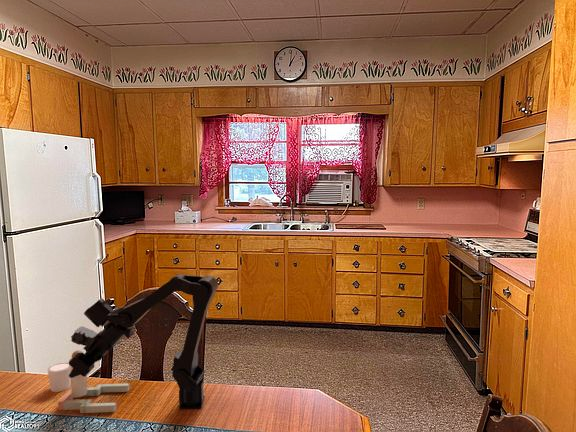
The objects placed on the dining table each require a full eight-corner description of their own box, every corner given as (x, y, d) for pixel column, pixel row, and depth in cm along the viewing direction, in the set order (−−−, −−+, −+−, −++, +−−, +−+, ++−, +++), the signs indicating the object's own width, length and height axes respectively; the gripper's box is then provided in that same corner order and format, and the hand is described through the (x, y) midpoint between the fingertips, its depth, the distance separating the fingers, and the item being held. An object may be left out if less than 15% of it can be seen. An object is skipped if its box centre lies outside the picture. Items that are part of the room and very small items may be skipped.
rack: (129, 389, 131) (129, 381, 131) (114, 411, 119) (114, 403, 118) (75, 390, 131) (75, 383, 130) (54, 413, 118) (54, 405, 117)
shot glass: (43, 389, 131) (42, 368, 131) (64, 380, 137) (63, 360, 137) (57, 394, 128) (55, 373, 128) (77, 385, 134) (76, 364, 134)
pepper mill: (90, 389, 127) (88, 347, 125) (83, 397, 122) (81, 353, 121) (75, 390, 126) (73, 347, 125) (68, 397, 122) (65, 354, 121)
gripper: (101, 309, 132) (68, 343, 132) (74, 330, 113) (36, 369, 113) (127, 332, 133) (94, 365, 133) (104, 357, 114) (66, 395, 115)
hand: (73, 373), depth 124 cm, fingers closed on pepper mill, 4 cm apart
